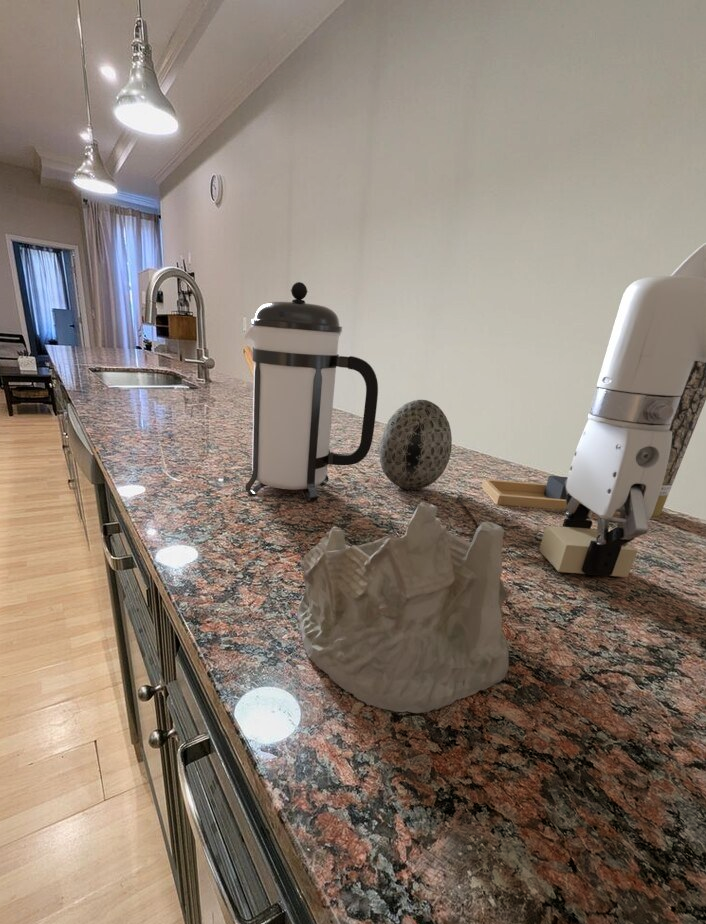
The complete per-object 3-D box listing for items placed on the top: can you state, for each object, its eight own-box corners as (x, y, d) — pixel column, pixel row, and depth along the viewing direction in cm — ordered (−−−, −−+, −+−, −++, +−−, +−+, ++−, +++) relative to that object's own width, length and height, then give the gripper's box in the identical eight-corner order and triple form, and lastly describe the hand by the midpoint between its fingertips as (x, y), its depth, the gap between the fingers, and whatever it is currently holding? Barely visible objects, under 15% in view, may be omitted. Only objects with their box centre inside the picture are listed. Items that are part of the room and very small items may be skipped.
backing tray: (590, 499, 79) (594, 488, 78) (618, 518, 71) (623, 505, 71) (480, 489, 79) (483, 478, 79) (496, 507, 71) (499, 495, 71)
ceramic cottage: (539, 681, 35) (580, 497, 30) (345, 740, 29) (354, 526, 24) (427, 587, 48) (441, 450, 43) (280, 615, 43) (278, 462, 38)
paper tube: (666, 515, 74) (729, 357, 65) (649, 522, 70) (713, 355, 61) (622, 502, 79) (675, 353, 70) (604, 507, 75) (657, 351, 66)
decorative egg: (380, 473, 84) (391, 392, 78) (443, 483, 81) (459, 399, 76) (369, 492, 73) (381, 400, 68) (442, 504, 71) (460, 409, 65)
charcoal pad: (589, 498, 78) (595, 479, 76) (606, 510, 73) (613, 490, 71) (543, 494, 78) (548, 475, 76) (557, 506, 73) (563, 485, 71)
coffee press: (267, 512, 62) (276, 271, 51) (229, 477, 75) (229, 277, 64) (368, 498, 71) (394, 288, 59) (318, 469, 83) (332, 291, 72)
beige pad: (602, 554, 56) (610, 529, 55) (628, 577, 51) (638, 550, 50) (538, 550, 57) (545, 525, 55) (558, 572, 51) (566, 544, 50)
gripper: (733, 428, 39) (660, 603, 46) (619, 399, 55) (578, 533, 62) (647, 422, 39) (587, 597, 46) (558, 395, 55) (523, 529, 62)
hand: (582, 559), depth 54 cm, fingers closed on beige pad, 5 cm apart
